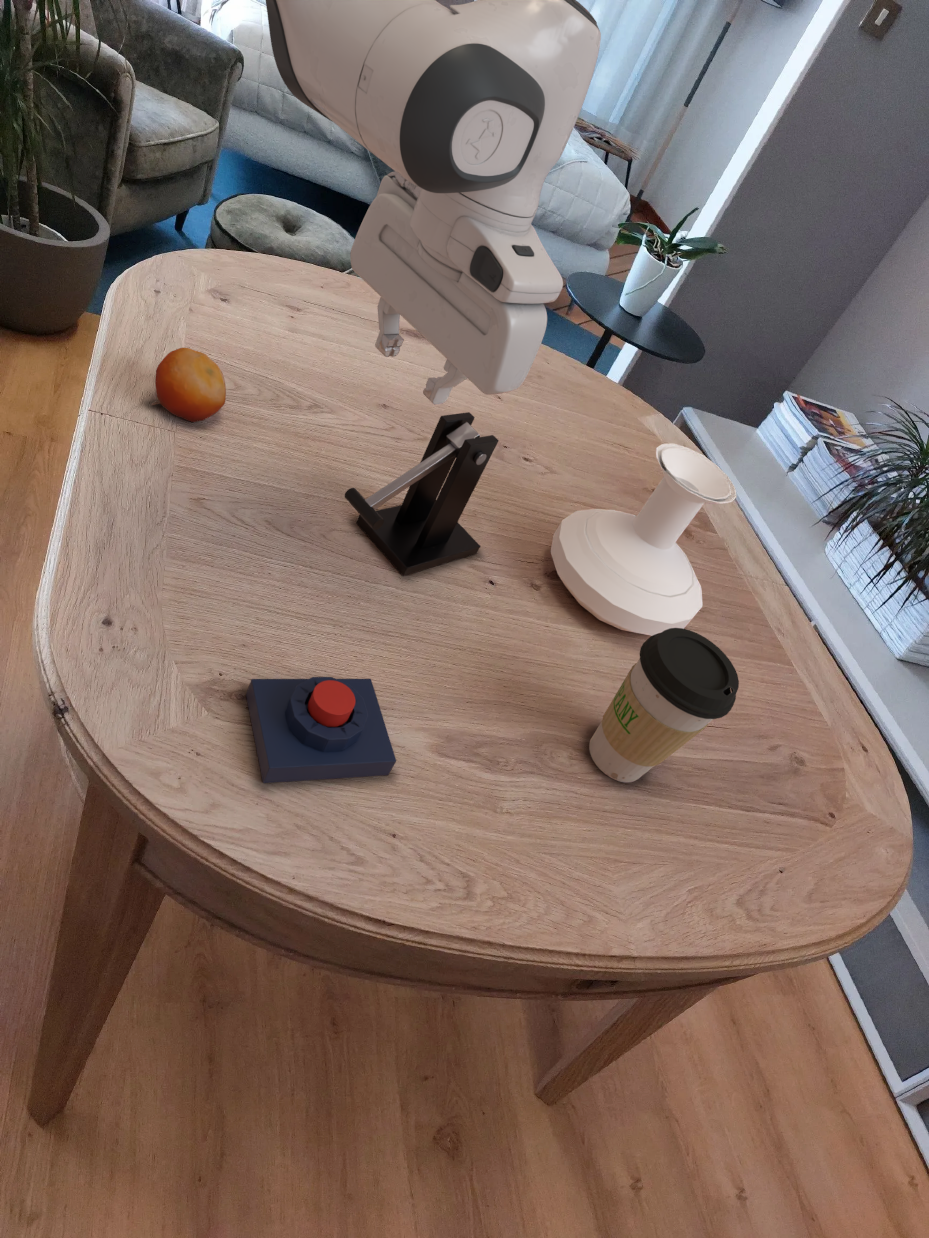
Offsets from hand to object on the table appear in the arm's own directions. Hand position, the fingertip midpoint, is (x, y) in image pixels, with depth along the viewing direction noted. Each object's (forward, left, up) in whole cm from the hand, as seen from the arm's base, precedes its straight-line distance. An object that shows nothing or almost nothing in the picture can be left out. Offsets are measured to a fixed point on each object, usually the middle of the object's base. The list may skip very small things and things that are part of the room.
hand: (409, 375), depth 75 cm
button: (-7, -22, -20) cm, 30 cm away
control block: (-7, -22, -23) cm, 33 cm away
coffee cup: (+24, -26, -23) cm, 43 cm away
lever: (+7, +3, -13) cm, 15 cm away
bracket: (+11, +5, -23) cm, 26 cm away
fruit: (-13, +24, -23) cm, 36 cm away
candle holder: (+36, -2, -23) cm, 43 cm away
